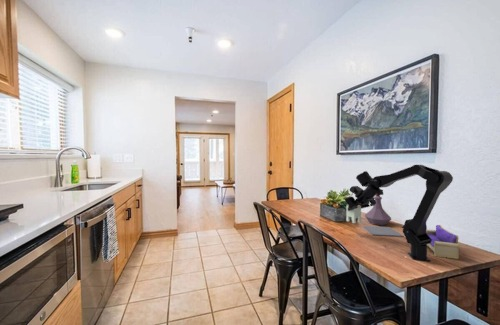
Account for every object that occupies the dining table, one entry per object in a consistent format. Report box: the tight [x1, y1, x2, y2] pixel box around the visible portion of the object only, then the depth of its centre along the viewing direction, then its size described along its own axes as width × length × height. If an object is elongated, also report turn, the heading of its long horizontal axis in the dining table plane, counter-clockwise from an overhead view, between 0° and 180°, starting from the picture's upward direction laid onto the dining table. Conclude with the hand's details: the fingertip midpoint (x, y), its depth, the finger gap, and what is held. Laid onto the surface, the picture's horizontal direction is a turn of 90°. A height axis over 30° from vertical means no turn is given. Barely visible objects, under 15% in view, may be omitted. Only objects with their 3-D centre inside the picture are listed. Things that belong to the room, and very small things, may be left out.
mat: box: [362, 225, 405, 238], centre depth 132 cm, size 16×16×1 cm
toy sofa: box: [426, 224, 460, 260], centre depth 106 cm, size 21×9×10 cm, turn 159°
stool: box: [345, 204, 362, 224], centre depth 128 cm, size 5×5×10 cm
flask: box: [364, 194, 392, 226], centre depth 150 cm, size 16×16×20 cm
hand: (351, 209), depth 129 cm, fingers closed on stool, 5 cm apart
